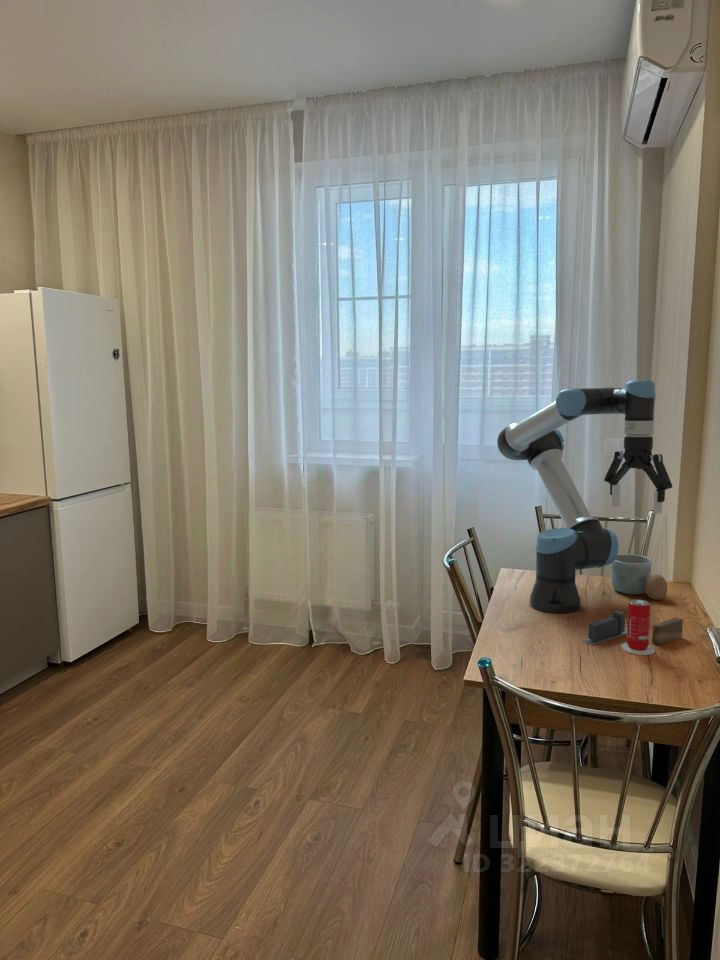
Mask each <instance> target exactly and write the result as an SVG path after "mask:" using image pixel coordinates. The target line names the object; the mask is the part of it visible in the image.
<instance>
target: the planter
mask: <svg viewBox="0 0 720 960" xmlns="http://www.w3.org/2000/svg"><path fill="white" fill-rule="evenodd" d="M652 566H653V560H652V558H650V557H647V556H645V555H639V554H632V553H631V554H630V553H629V554H627V553H622V554H621V553H620V554H617V557H616V559H615V560H614V561H613V562H612V563H611V564H610V575H611V576H610V577H611V578H610V579H611V584H612V585H611V586H612V588H613V589H614V590H615V591H616V592H618V593H621V594H624V595H633V596H634V595H641V594H645V593H646V591H645V584H646V581H647V579H648V578H649V577H650V576H651V575H652Z"/></svg>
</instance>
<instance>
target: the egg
mask: <svg viewBox="0 0 720 960" xmlns="http://www.w3.org/2000/svg"><path fill="white" fill-rule="evenodd" d="M645 591H646V592H645V593H646V594H647V596H648V597H649V598H650V599H652V600H654V601H658V600H662V599H663V598H664V597H666V596H667V593H668V583H667V580H666V579H665V577H664V576H662V575H661V574H659V573H653V574H651V576H650V577H649V578H648V579H647V581H646V584H645Z"/></svg>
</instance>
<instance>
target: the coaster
mask: <svg viewBox="0 0 720 960" xmlns="http://www.w3.org/2000/svg"><path fill="white" fill-rule="evenodd" d="M621 649H622V651H624V652H626V653H629V654H632V655H636V656H651V655H654V654H655V653H656V648H655V647H654V646H653V645H651V644H649V645H648V647H647V649H646V650H644V651H637V650H633V649H630V648H629V647H628V644H627V641H626V642H624V643H622V644H621Z"/></svg>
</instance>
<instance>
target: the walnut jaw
mask: <svg viewBox="0 0 720 960" xmlns="http://www.w3.org/2000/svg"><path fill="white" fill-rule="evenodd" d="M683 625H684V619H683V618H680V617H673V618H669V619H666V620H664V621H661V622H656V623H654V624H652V634H651V635H652V637H651V638H652V643H651V644H653V645H657V646H663V645H664V644H667V643H670V642H672V641H676V640H678V639H682V638H683V628H684V627H683Z"/></svg>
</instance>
